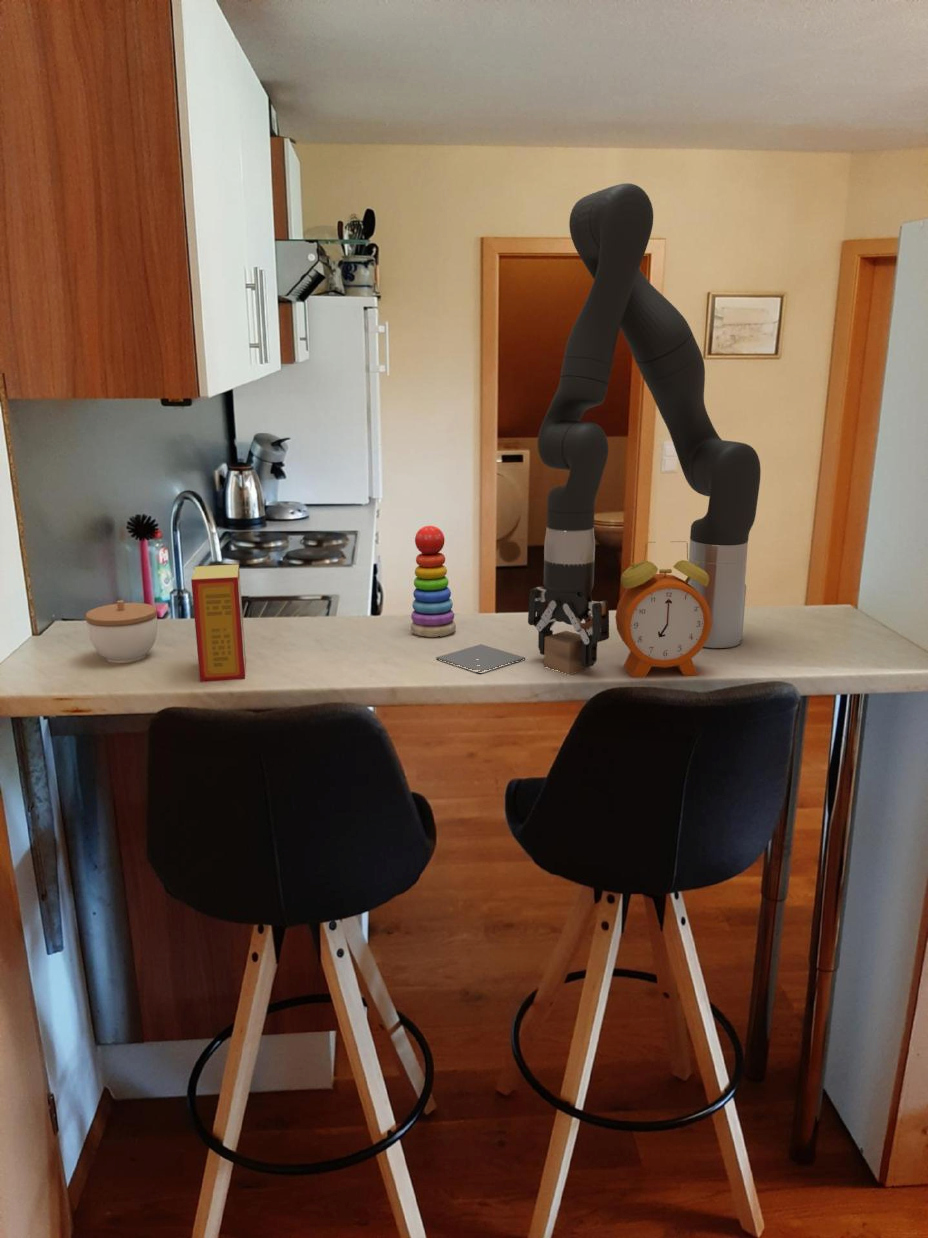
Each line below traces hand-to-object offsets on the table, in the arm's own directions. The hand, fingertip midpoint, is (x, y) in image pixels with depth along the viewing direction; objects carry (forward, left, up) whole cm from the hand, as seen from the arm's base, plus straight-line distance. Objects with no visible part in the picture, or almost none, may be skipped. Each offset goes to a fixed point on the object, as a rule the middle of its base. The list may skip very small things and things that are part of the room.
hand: (566, 659), depth 144 cm
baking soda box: (+39, -36, -2) cm, 53 cm away
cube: (0, 0, -1) cm, 1 cm away
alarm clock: (-9, +11, -1) cm, 14 cm away
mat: (+7, -12, -1) cm, 14 cm away
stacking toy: (+2, -29, -1) cm, 29 cm away
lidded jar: (+47, -53, -1) cm, 71 cm away
